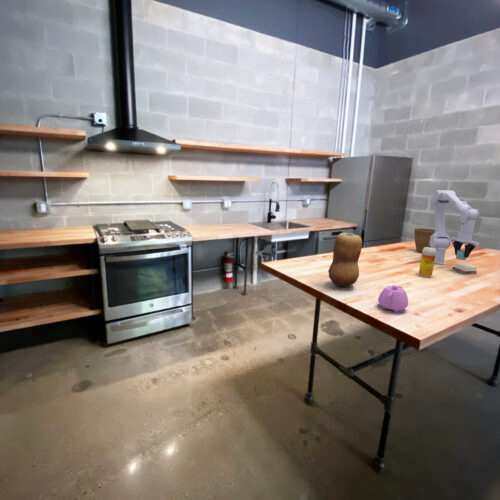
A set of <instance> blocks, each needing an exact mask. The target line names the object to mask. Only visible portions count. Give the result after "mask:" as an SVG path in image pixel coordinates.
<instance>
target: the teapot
mask: <svg viewBox="0 0 500 500" xmlns="http://www.w3.org/2000/svg"><path fill="white" fill-rule="evenodd" d="M377 301H378V304H379V305H380V306H381V309H383V310H393V312H394V313H396V314H398V313H400V311H404V310H405V309H406V308H408V306H409V297H408V295H407V292H406V290H405V289H404V288H403V286H401V285H397V284H396V285H395V284H393V285H386V286H385V288H383V289H382V290H381V292H380V294H379V296H378V300H377Z"/></svg>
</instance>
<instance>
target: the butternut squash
mask: <svg viewBox="0 0 500 500" xmlns="http://www.w3.org/2000/svg"><path fill="white" fill-rule="evenodd" d="M362 240H363V239H362V237H361V236H360V235H357V234H354V233H350V232H340V233H339V234H338V235H336V238H335V240H334V244H333V245H334V246H333V251H332V252H333V254H332V261H331V263H330V266H329V268H328V271H327V272H328V277H329V280H330V281H331V282H332V283H333V284H334V286H336V287H342V288H343V287H345V288H346V287H349V286H352V285H354V284H355V283H357V281H358V279H359V276H360V269H359V259H360V256H361V252H362V249H363V241H362Z"/></svg>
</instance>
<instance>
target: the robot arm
mask: <svg viewBox="0 0 500 500" xmlns="http://www.w3.org/2000/svg"><path fill="white" fill-rule="evenodd" d="M450 203H451V204H452V205H453V206H454V210H456V212H458V214H459V217H460V224H461V225H460V229H459V235H458V237H455V236H452V237H450V235H449V234H448V233H446V222H445V221H446V216H445V207H446V206H448V205H449V204H450ZM432 204H433V211H434V212H433V213H434V218H433V219H434V230H435V233H434V234H433V235H432V236H431V238H430V246H431V248H435V249H436V256H435V261H434V265H443V266H444V265H446V264H445V258H446V257H445V256H446V252H447V250H448V249H449V248H450V246H451V244H452V246H453V249H454V255H455V256H456V255H457V250H462V246H463V244H464V250H465V254H464V258H466V259H468V258H469V257H470V255H471V254H472V251H474V249H475V248H476V247H480V242H478V241H476V240H475V241H474V240H472V239H473V235H474V229H475V225H476V221H477V220H479V218H480V211H479V209H477V208H473V207H472V206H470V205H469V204H468V202H467V201H466V200H465V201H464V200H462V201H461V200H460V198H459V197H458V196H457V192H456V191H455V190H452V189H451V190H448V189H447V190H445V189H443V190H441V189H437V190H435V191H434V192H433V194H432Z"/></svg>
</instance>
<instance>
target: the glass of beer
mask: <svg viewBox="0 0 500 500" xmlns="http://www.w3.org/2000/svg"><path fill="white" fill-rule="evenodd" d="M435 256H436V249H435V248H430V247H424V249H423V251H422V253H421V258H420V264H419V269H418V275H419V276H420V277H423V278H431V277H432V276H433V271H434V266H435V264H434V261H435Z"/></svg>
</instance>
